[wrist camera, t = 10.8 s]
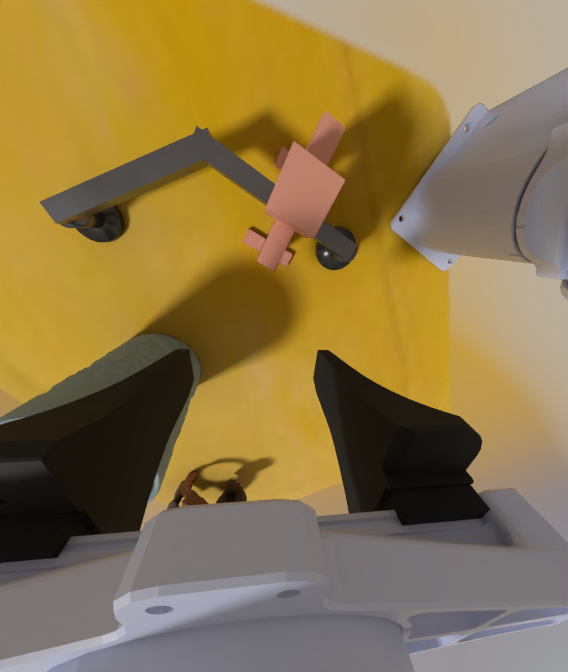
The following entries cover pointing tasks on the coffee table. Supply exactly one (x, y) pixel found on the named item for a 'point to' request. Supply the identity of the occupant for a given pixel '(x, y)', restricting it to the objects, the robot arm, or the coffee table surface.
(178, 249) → the coffee table surface
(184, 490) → the vr controller
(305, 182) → the pink blocky toy figure
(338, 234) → the wheeled bent frame
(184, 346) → the green tapered cup
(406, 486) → the robot arm
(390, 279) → the coffee table surface
